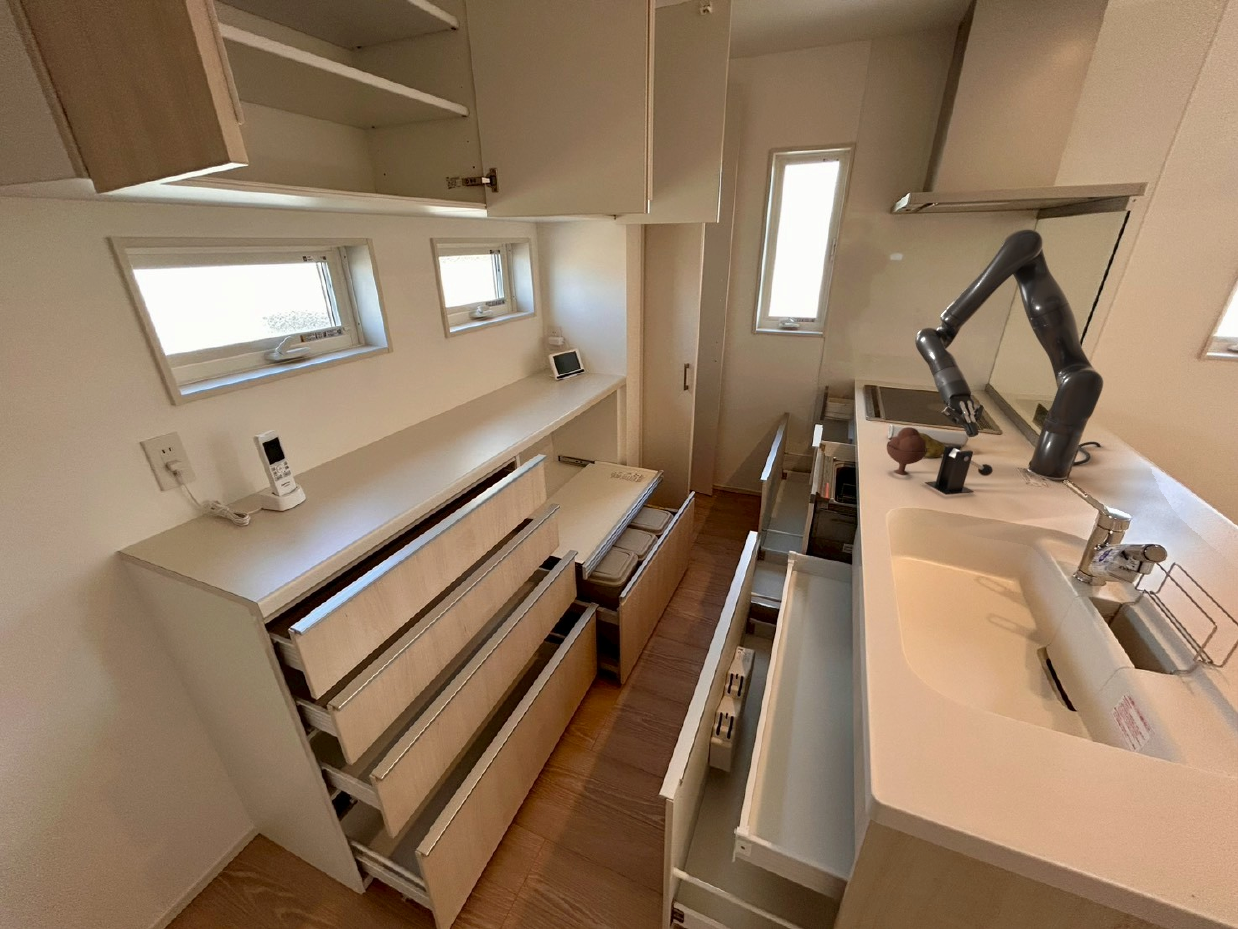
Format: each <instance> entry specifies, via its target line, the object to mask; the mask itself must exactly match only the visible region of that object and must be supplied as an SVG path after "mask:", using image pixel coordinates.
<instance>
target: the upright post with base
mask: <svg viewBox="0 0 1238 929" xmlns="http://www.w3.org/2000/svg"><path fill="white" fill-rule="evenodd" d="M954 448H955V449H957V450H960V451H957V452H956V456H955V459H954V458H953V457H951V456H949V454H950V453H951V451H952V450H953V449H954ZM962 449H963V446H959V445H957V446H956V445H946V446H945V450H944V454H943V455H942V458H941V462H940V464H939V469H938V473H937V477H936V480H934V481H924V484H926V485H927V486H929V487H931V488H933V489H934V490H936V491H938V492H940V493H942V494H943V495H944V496H945V495H946V496H947V495H957V494H958V495H959V494H968V493H969V494H970V493H974V490H972V489H970V488H968V487H966V486H964V485H965V482H966V479H967V475H968V472H969V469H970V466H971V464H970V462H971V460H972V458H973V455H974V450H962Z"/></svg>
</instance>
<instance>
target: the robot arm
mask: <svg viewBox="0 0 1238 929" xmlns="http://www.w3.org/2000/svg"><path fill="white" fill-rule="evenodd" d="M1043 245H1044V241H1043V236H1042V235H1041V233H1039V232H1038V231H1037V230H1034V229H1032V228H1031V229H1030V228H1024V229H1023V228H1022V229H1019V230H1016V231H1014V232H1012V233H1010V234H1009V235H1008V236H1007V237H1006V238H1005V239H1004V240H1003V242H1002V243H1001V246H1000V248H999V250H998V252H997V253H996V254H995V255H994V257H993V259H992V260H991V261H990V263H989V264H988V265H987V266H986V267H985V268H984V269H983V271H982V272H980V274H979V275H978V276H977V277H976V278H975V279H974V280H973V281H972V282H971V283H970V284H969V285H968V286H967V287H966V288H965V289H964V290H963V291H962V292H961V293H959V295H957V296H956V297H955V299H954V300H953V301H952V302H951V303H950V304H949V306H947V308H946V309H944V311H943V312H942V313H941V314H940V317H939V319H940V321H941V323H940V325H939V326H938V328H937V329H936V328H933V327H925V328H922V329H920V330H919V331H918V332H917V334H916V336H915V340H914V342H915V347H916V349H917V351H918V353H919V354H920V356H921V357H922V358H923V360H924V361H925V362H926V364H927V366H928V367H929V371H930V372H931V375H932V377H933V381H934V384H935V386H936V387H935V388H936V389H937V392H938V394H939V396H940V399H941V402H942V403H943V404H945V408H944V409H943V410H941V414H942V415H943V416H944V417H946V418H947V419H948V420H949V421H951V422H952V423H953V424H954V425H956V426H958V425H959V426H961V427H963V430H964V431H965V432H964V433H966V434H967V435H968V438H975V437H977V436H978V435H979V433H980V432H979V429H978V427H977V424H976V423H978V422H979V421H981V417H982V415H983V411H984V406H983V405H982V404H980V405H978V404H976V403H975V401H974V399H972V397H971V395H972V391H971V389H970V386H969V384H968V382H967V379H966V377H965V374H964V373H963V371H962V370H961V369H960V367H959V364H958V362H957V360H956V358H955V356H954V355H953V354H952V353H951V352H950V351H948V350H947V349H948V348H949V347H950V346H951V345H952V343H953V342H954V341H955V339H956V337H957V336H958V334H959V332H960V330H961V329H962V328H963V326H964V325H965V324H966V323H967V322H968V321H969V320H970V319H971V318H972V317H973V316H974V315H975V314H976V313H978V311H979V310H980V308H982V307H983V305H984V304H985V303H986V302H987V301H988V300H989V298H991V296H992V295H993V294H994V293H995V292H996V291H997V290H998V288H1000V287H1001V286H1002V285H1003V284H1004V283H1005V282H1006V281H1007V280H1008V279H1010V277H1012V276H1013V277H1014V279H1015V281H1016V284H1017V286H1018V289H1019V293H1020V297H1021V302H1022V305H1023V309H1024V312H1025V315H1026V318H1027V320H1028V323H1029V325H1030V328H1031V330H1032V331H1033V333H1034V334H1035V337H1036V339H1037V340H1038V342H1039V344H1040V345H1041V347H1042V349H1043V350H1044V351H1045V353H1046V354H1047V356H1048V358H1049V361H1050V364H1051V367H1052V371H1053V374H1054V379H1055V384H1056V387H1057V390H1056V393H1055V396H1054V399H1053V402H1052V404H1051V406H1050V408H1049V409H1048V410H1047V413H1046V415H1045V418H1044V421H1043V423H1042V424H1043V425H1042V428H1041V430H1040V433H1039V436H1038V440H1037V442H1036V445H1035V448H1034V450H1033V454H1032V457H1031V459H1030V461H1029V462H1028V465H1027V467H1028V468H1027V471H1028V472H1030V473H1032V474H1034V475H1037V476H1040V477H1042V478H1045V479H1046V480H1048V481H1052V482H1053V481H1054V482H1063V481H1065V480H1064V479H1066V480H1067V479H1068V478H1069V477H1070V474H1071V472H1072V469H1073V467H1074V466H1078V465H1082V464H1085V463H1087V462H1089V461H1090V459H1091V454H1090V453H1089V452H1088V451H1087V450H1086V449H1084V448H1082V447H1085V446H1091V445H1094V446H1096V447H1097V448H1101V447H1102V445H1101V444H1100V443H1099V442H1098V441H1085V442H1083V443H1081V440H1082V437H1083V434H1084V432H1085V429H1086V426H1087V424H1088V421H1089V419H1090V418H1091V417H1092V415H1093V413H1094V411H1095V409H1096V407H1097V404H1098V401H1099V399H1100V397H1101V394H1102V391H1103V388H1104V379H1103V376H1102V375H1101V374H1100V372H1098V371H1097V370H1096V369H1095V368H1094V367H1093V365H1092V363H1091V361H1090V360H1089V359H1088V357H1087V355H1086V353H1085V351H1084V350H1083V347H1082V344H1081V341H1080V334H1079V328H1078V324H1077V321H1076V320H1077V319H1076V317H1075V314H1074V312H1073V309H1072V307H1071V304H1070V302H1069V300H1068V298H1067V296H1066V294H1065V292H1064V290H1063V288H1061V286H1060V284H1059V283H1058V281H1057V280H1056V279H1055V277H1054V276H1053V274H1052V273H1051V271H1050V268H1049V266H1048V263H1047V260H1046V256H1045V254H1044V249H1043ZM1079 452H1081V453H1082V454H1084V455H1085V458H1084V459H1082V460H1079V461H1078V460H1077V461H1076V459H1077V456H1078V454H1079Z"/></svg>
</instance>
